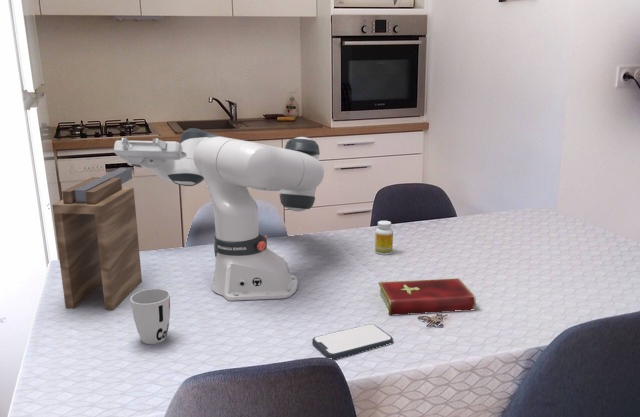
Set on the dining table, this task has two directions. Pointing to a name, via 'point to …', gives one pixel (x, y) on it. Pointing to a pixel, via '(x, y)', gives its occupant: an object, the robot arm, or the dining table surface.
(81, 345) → the dining table surface
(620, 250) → the dining table surface
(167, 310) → the cup
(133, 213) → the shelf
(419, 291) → the hardcover book
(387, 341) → the smartphone
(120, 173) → the bar
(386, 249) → the supplement bottle
